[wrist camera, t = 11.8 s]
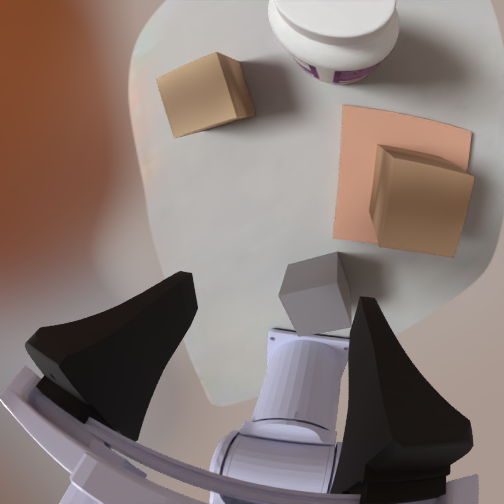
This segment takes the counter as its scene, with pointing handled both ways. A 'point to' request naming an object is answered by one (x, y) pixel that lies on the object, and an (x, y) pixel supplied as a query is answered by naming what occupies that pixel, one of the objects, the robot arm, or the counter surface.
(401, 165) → the walnut block
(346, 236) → the terracotta coaster
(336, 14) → the pill bottle
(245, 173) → the counter surface
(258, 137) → the counter surface
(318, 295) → the gray block
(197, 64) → the oak block
